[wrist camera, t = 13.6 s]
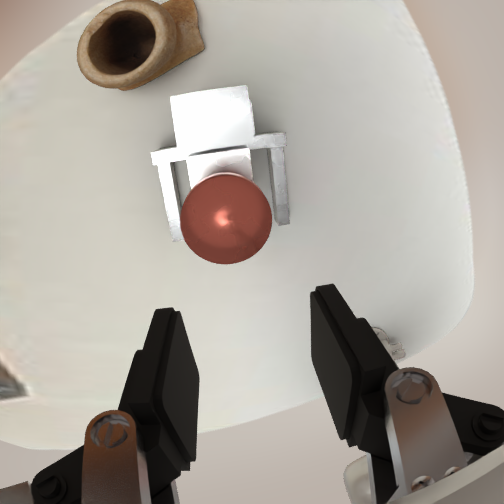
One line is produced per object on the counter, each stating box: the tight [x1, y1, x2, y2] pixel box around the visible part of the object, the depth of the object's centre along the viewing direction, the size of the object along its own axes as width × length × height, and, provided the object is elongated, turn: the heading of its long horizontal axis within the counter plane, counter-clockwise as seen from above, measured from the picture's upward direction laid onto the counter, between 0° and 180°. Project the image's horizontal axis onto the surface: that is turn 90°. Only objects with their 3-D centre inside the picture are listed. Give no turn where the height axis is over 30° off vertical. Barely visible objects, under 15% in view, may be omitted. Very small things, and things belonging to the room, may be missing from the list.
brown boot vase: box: [77, 0, 204, 91], centre depth 26 cm, size 15×12×15 cm
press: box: [151, 85, 290, 241], centre depth 31 cm, size 16×17×22 cm
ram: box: [180, 145, 272, 264], centre depth 24 cm, size 6×7×13 cm
